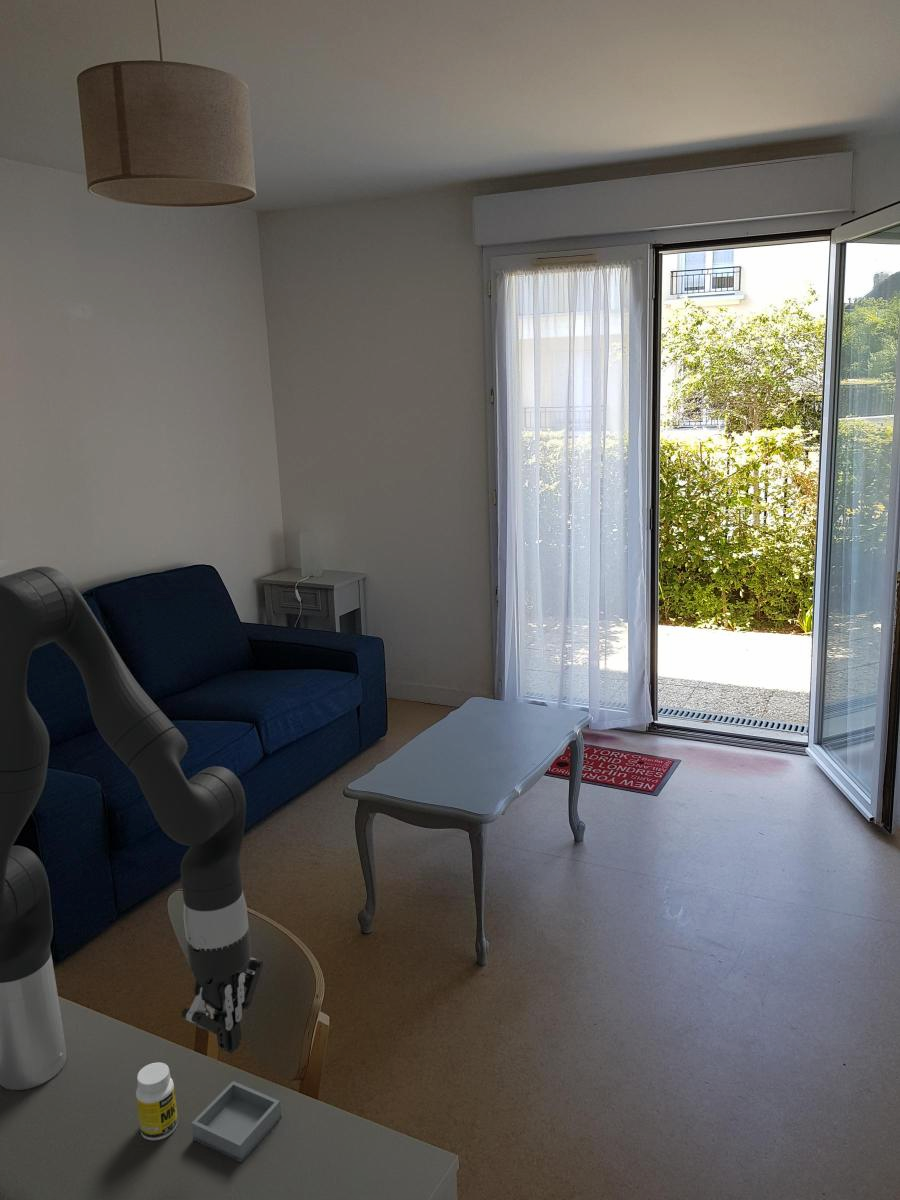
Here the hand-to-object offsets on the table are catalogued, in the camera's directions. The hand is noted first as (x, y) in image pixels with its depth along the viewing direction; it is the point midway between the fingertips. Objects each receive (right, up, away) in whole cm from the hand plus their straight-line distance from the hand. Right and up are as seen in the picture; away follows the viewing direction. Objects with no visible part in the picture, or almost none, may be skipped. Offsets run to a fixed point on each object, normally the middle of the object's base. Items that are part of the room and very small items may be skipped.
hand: (230, 1047), depth 118 cm
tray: (0, -12, +3) cm, 12 cm away
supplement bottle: (-10, -12, +4) cm, 16 cm away
